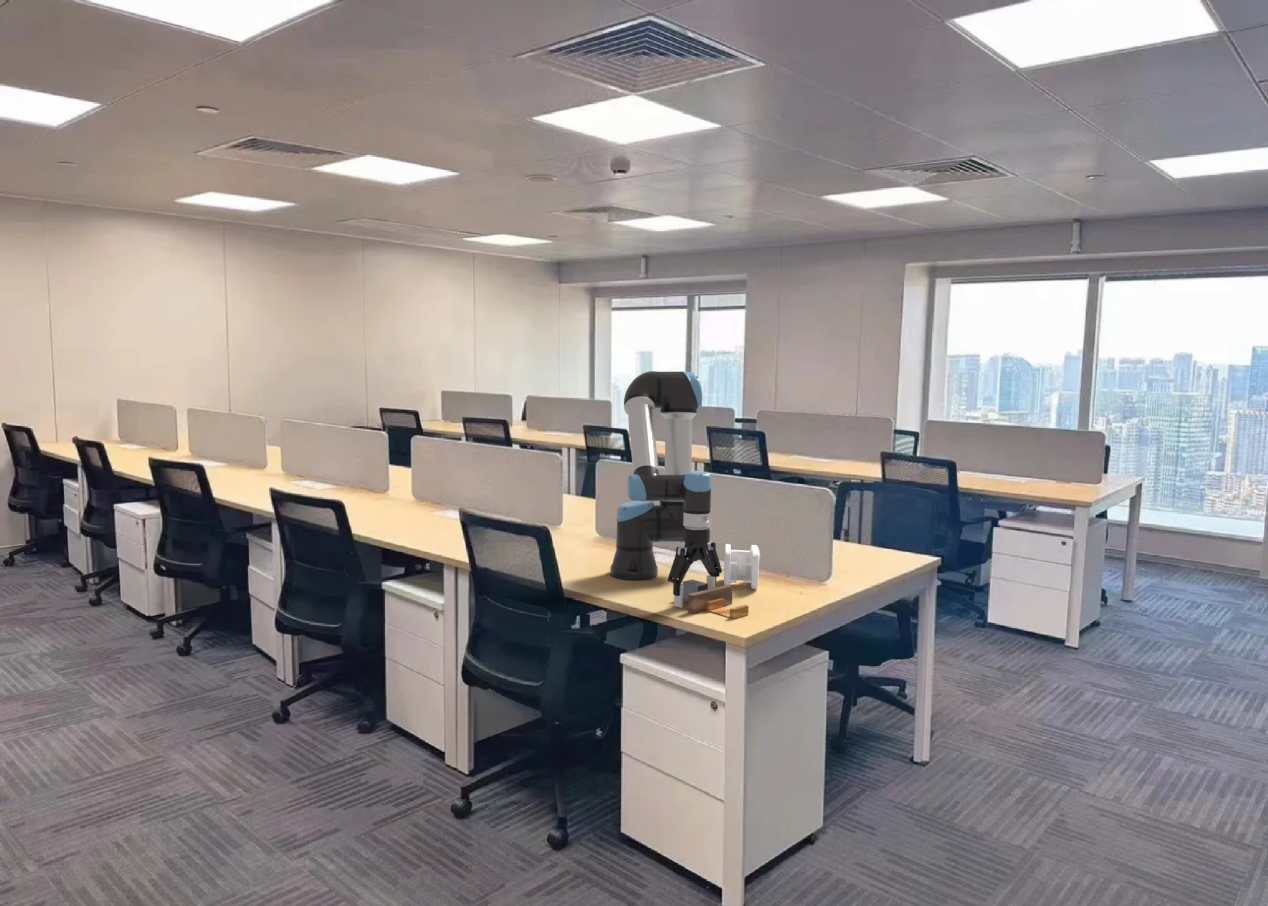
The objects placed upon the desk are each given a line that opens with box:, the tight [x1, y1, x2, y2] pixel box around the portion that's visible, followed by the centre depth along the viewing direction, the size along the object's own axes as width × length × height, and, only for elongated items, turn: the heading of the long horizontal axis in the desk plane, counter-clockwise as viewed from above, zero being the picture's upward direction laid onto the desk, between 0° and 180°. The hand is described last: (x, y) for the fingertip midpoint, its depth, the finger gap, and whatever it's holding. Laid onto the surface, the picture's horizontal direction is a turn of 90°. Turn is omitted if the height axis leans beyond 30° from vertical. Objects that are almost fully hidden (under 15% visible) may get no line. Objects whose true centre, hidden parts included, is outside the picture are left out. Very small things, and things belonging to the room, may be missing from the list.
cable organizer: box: [723, 543, 761, 590], centre depth 260 cm, size 15×11×12 cm
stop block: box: [681, 579, 708, 605], centre depth 239 cm, size 6×4×6 cm, turn 43°
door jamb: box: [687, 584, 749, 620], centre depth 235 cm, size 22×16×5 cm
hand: (694, 602), depth 240 cm, fingers open, 12 cm apart
